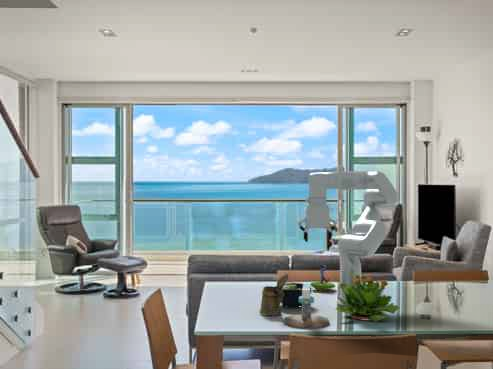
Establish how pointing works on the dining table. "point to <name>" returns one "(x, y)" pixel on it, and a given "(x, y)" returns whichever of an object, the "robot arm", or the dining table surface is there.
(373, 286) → the potted flower
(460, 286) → the dining table surface
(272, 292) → the wooden mug
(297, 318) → the base plate
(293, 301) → the bowl
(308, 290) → the white-capped blue bar
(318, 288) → the figurine
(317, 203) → the robot arm
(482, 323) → the dining table surface
